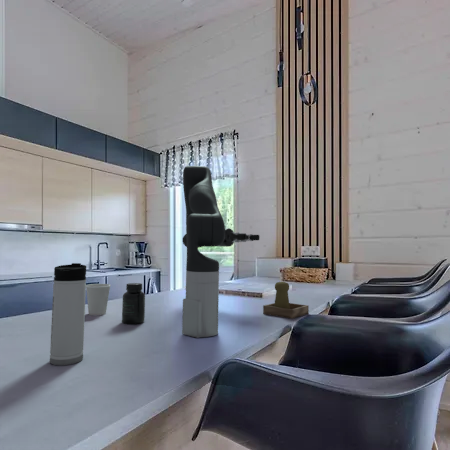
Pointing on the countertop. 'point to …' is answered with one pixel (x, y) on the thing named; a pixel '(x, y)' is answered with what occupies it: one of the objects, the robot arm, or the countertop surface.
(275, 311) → the box
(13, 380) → the countertop surface
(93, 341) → the countertop surface
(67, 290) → the travel mug
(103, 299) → the dixie cup
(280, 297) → the cork
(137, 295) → the supplement bottle
